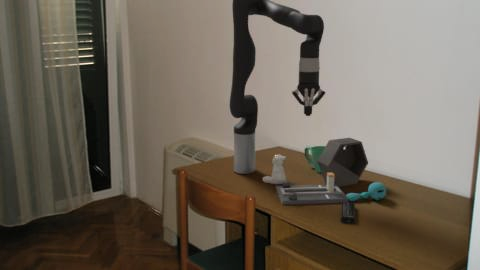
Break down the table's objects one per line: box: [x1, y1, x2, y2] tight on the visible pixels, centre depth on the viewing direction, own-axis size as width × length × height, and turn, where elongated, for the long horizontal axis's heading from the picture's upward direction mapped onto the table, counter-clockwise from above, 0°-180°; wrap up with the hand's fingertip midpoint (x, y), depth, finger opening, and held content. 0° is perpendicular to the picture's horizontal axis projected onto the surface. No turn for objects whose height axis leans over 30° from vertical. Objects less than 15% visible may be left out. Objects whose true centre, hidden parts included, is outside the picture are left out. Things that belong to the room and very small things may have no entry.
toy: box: [345, 181, 387, 202], centre depth 184 cm, size 12×6×15 cm
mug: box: [304, 145, 326, 174], centre depth 219 cm, size 15×10×10 cm
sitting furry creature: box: [262, 153, 287, 186], centre depth 203 cm, size 10×9×12 cm
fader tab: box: [326, 172, 335, 191], centre depth 188 cm, size 3×2×6 cm
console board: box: [275, 180, 349, 206], centre depth 188 cm, size 16×24×4 cm, turn 95°
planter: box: [317, 137, 369, 188], centre depth 201 cm, size 17×8×21 cm
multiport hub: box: [340, 201, 356, 224], centre depth 170 cm, size 4×14×2 cm, turn 168°
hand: (307, 115), depth 190 cm, fingers closed
